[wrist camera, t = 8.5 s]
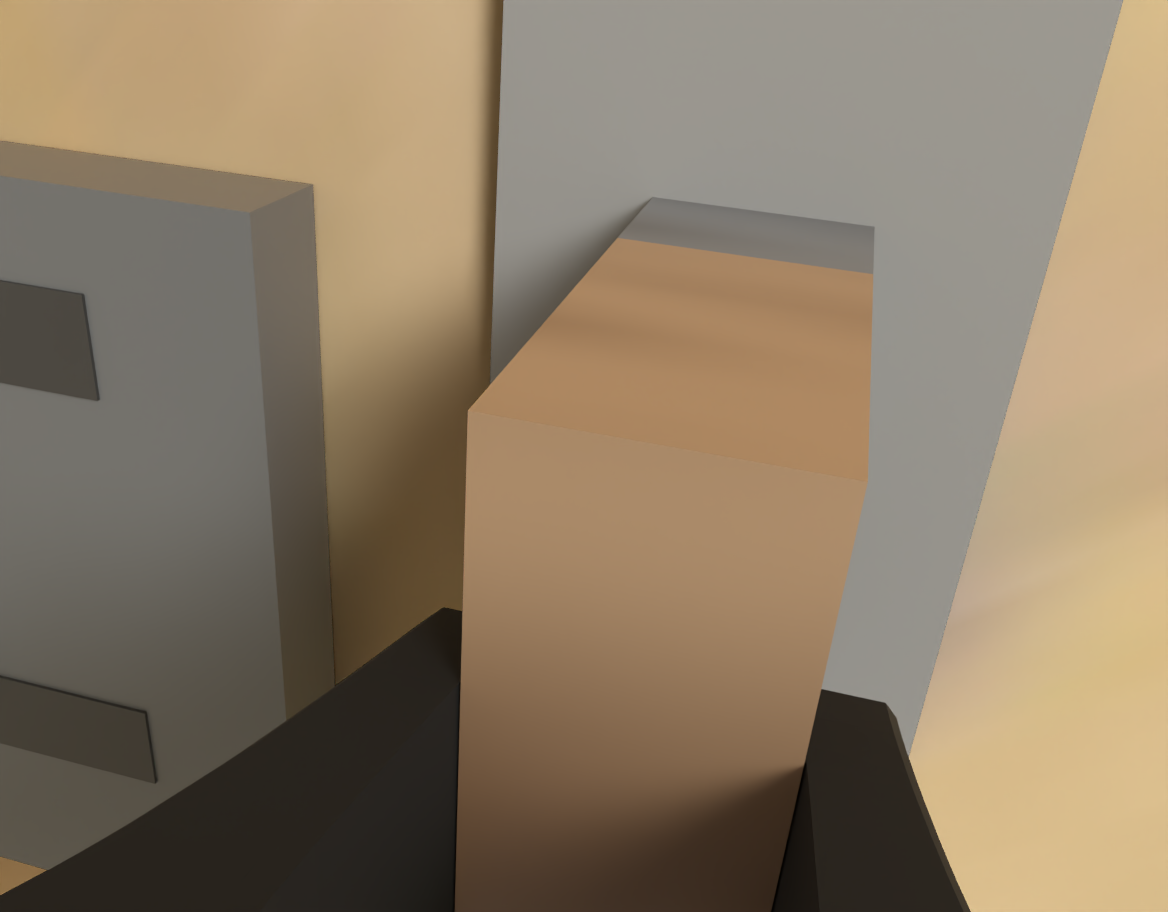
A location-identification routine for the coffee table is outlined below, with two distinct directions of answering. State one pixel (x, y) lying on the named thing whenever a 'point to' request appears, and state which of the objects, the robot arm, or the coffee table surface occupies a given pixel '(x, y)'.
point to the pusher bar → (661, 565)
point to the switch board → (152, 484)
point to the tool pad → (828, 192)
